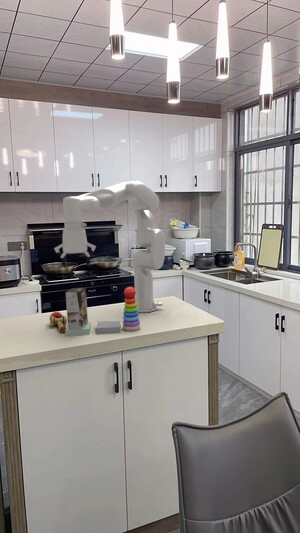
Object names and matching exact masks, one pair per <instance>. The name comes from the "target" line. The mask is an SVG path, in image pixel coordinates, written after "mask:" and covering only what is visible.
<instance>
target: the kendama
mask: <svg viewBox="0 0 300 533" xmlns="http://www.w3.org/2000/svg"><path fill="white" fill-rule="evenodd" d="M67 324H68V321H67V315H63V314H62V313H61V312H60V311H54V312H52V313H51V314H50V316H49V325H50V327H53V326H57V328H58V331H59V333H61V334H63V333H65V330H66V327H67Z"/></svg>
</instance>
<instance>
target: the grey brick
mask: <svg viewBox="0 0 300 533" xmlns="http://www.w3.org/2000/svg"><path fill="white" fill-rule="evenodd" d="M95 327H96V328H95V331H96V335H103V334H107V335H108V334H121V320H107V321H97V324H96V326H95Z"/></svg>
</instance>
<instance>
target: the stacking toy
mask: <svg viewBox="0 0 300 533" xmlns="http://www.w3.org/2000/svg"><path fill="white" fill-rule="evenodd" d="M123 294H124V296H125V298H124V304H123V306H124V307H123V317H122V320H123V321H122V329H123V330H124V331H128V332H133V331H137V330H140V329H141V324H140V323H141V320H140V316H139V312H138V311H137V309H138V308H137V307H136V306H137V303H136V298H135V294H136V291H135V287H133V286H128V287H125V289H124V291H123Z"/></svg>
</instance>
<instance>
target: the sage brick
mask: <svg viewBox="0 0 300 533" xmlns="http://www.w3.org/2000/svg"><path fill="white" fill-rule="evenodd" d="M91 323H92V322H91V321H90V322H89V321H88V323H87V324H86V325H85V326H84V327H83V328H82V329H68V324H66V326H65V327H66V330H65V332H64V333H65V337H67V336H68V337H71V336H84V335H85V336H87V335H88V336H89V335H91V334H90V333H91V329H92V326H91Z"/></svg>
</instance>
